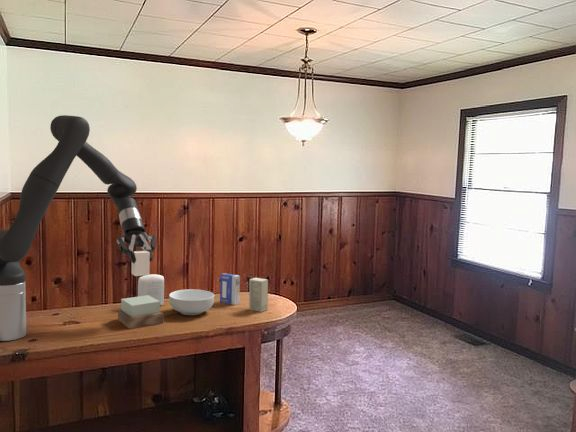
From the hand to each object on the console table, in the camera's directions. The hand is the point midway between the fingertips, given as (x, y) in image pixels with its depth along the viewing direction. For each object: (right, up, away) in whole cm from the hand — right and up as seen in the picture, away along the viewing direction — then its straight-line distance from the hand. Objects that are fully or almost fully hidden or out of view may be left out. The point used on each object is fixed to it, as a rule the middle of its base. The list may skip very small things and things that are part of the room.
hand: (142, 261), depth 169 cm
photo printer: (-4, -20, +23) cm, 31 cm away
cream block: (-1, -5, +2) cm, 5 cm away
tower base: (-2, -22, +3) cm, 22 cm away
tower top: (-2, -18, +3) cm, 18 cm away
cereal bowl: (+14, -21, +16) cm, 30 cm away
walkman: (+26, -20, +31) cm, 45 cm away
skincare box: (+39, -21, +23) cm, 50 cm away
